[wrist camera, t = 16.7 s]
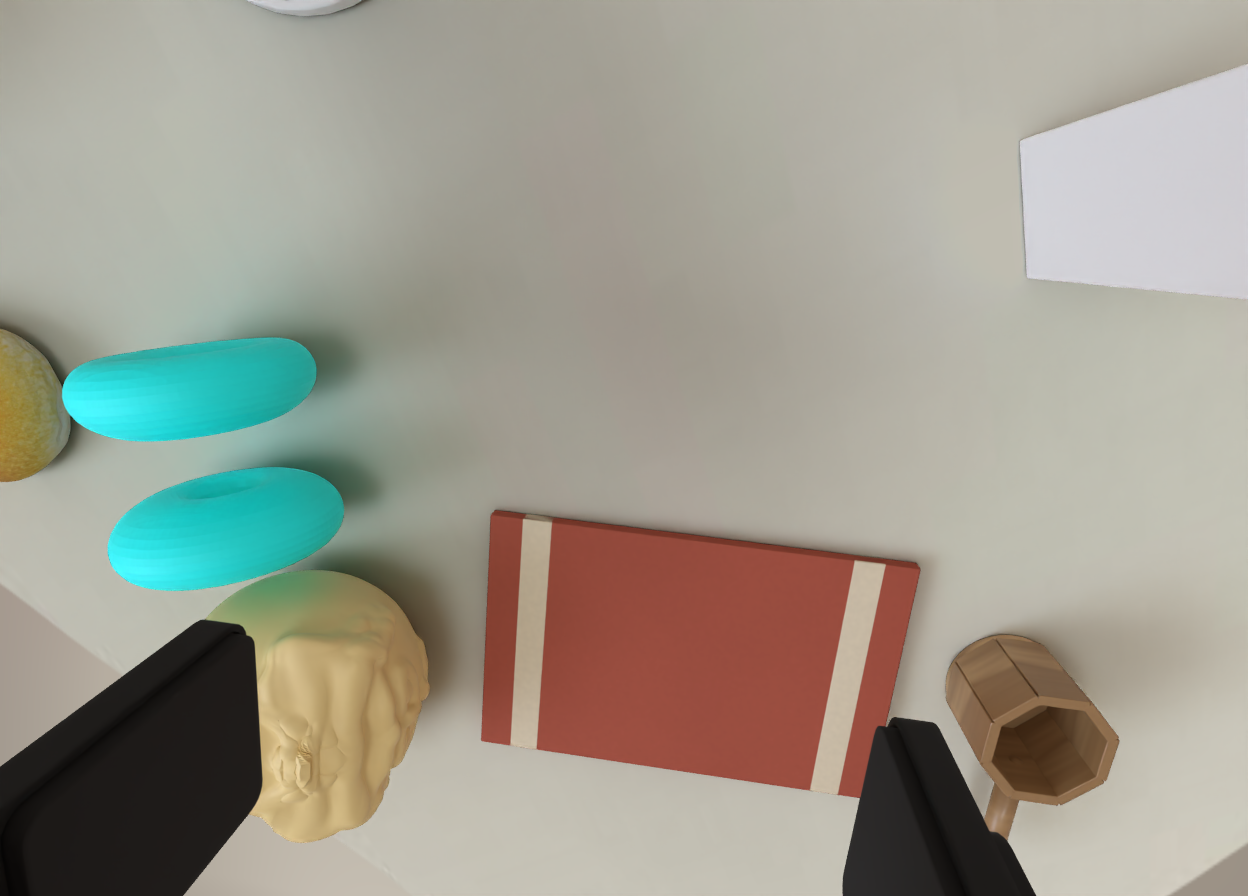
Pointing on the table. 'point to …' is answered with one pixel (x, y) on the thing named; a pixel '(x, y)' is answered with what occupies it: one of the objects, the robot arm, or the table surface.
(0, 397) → the bread roll
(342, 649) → the gathered cream pouch
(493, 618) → the towel
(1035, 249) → the milk
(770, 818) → the table surface
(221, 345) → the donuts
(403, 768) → the table surface
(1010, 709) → the scoop
